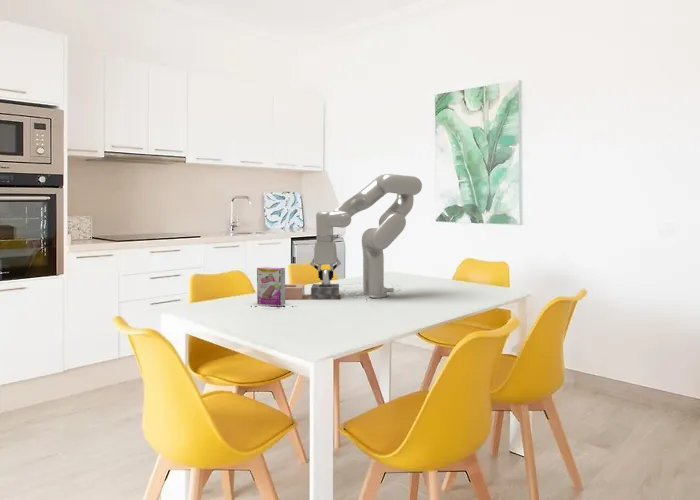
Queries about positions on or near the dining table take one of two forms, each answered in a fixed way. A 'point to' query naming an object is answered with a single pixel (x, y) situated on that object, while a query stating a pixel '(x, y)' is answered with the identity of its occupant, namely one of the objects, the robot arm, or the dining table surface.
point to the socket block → (294, 291)
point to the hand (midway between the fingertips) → (325, 279)
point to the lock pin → (326, 278)
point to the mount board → (322, 293)
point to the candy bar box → (271, 286)
